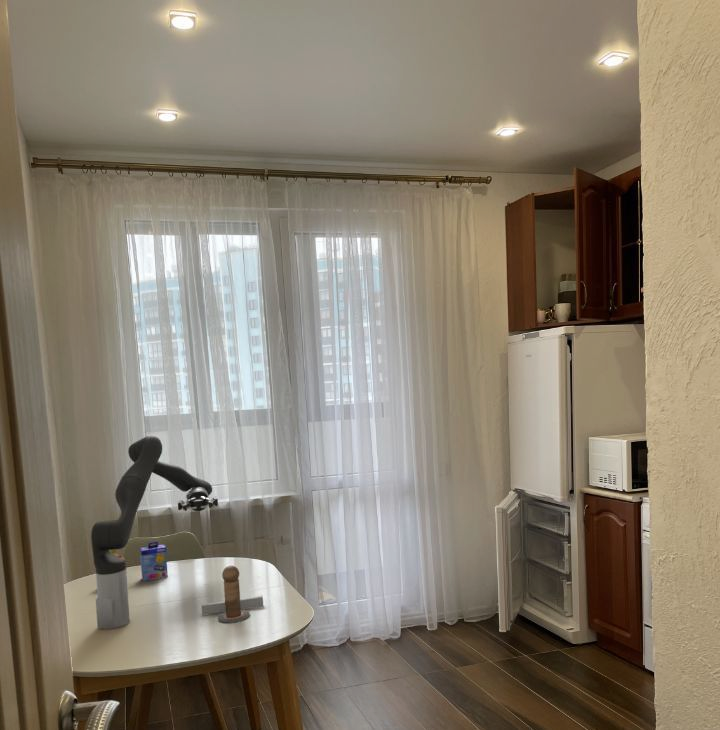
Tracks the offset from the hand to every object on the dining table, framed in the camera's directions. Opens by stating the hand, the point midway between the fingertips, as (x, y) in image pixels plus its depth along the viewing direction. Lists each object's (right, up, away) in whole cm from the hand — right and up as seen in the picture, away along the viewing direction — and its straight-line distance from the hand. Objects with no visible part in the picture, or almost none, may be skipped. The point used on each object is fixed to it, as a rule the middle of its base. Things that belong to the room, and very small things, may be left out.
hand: (197, 506), depth 240 cm
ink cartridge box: (-24, -35, +29) cm, 51 cm away
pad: (+18, -30, -25) cm, 43 cm away
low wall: (+16, -30, -18) cm, 39 cm away
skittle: (+17, -30, -25) cm, 42 cm away
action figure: (-38, -36, +24) cm, 58 cm away
